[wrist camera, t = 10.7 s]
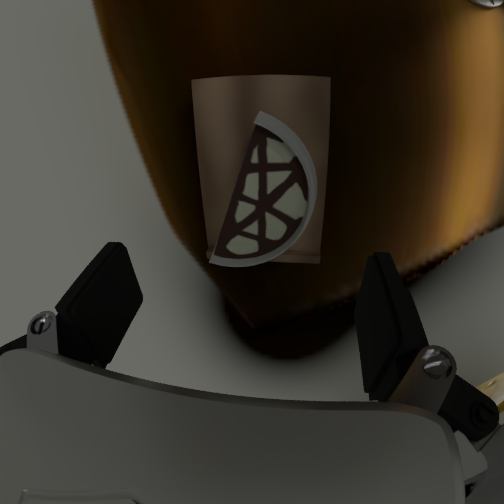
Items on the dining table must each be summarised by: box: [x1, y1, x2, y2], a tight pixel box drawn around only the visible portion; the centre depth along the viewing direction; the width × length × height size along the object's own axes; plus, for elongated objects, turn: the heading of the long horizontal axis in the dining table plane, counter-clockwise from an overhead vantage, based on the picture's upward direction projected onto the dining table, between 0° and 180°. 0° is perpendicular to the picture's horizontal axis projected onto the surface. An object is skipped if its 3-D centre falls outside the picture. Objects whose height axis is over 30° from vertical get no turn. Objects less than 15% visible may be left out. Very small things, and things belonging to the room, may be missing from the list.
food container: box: [209, 111, 317, 267], centre depth 23 cm, size 12×6×10 cm, turn 162°
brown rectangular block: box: [191, 75, 330, 264], centre depth 30 cm, size 13×20×6 cm, turn 2°
